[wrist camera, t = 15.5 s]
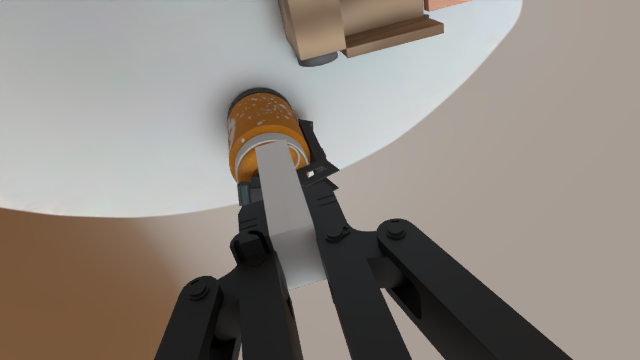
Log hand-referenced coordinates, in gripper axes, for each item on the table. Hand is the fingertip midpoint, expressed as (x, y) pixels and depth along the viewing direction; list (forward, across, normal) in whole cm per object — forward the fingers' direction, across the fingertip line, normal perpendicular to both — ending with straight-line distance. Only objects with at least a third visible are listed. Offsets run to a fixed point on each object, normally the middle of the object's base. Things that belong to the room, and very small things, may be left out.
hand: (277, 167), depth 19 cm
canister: (+35, 0, -12) cm, 37 cm away
